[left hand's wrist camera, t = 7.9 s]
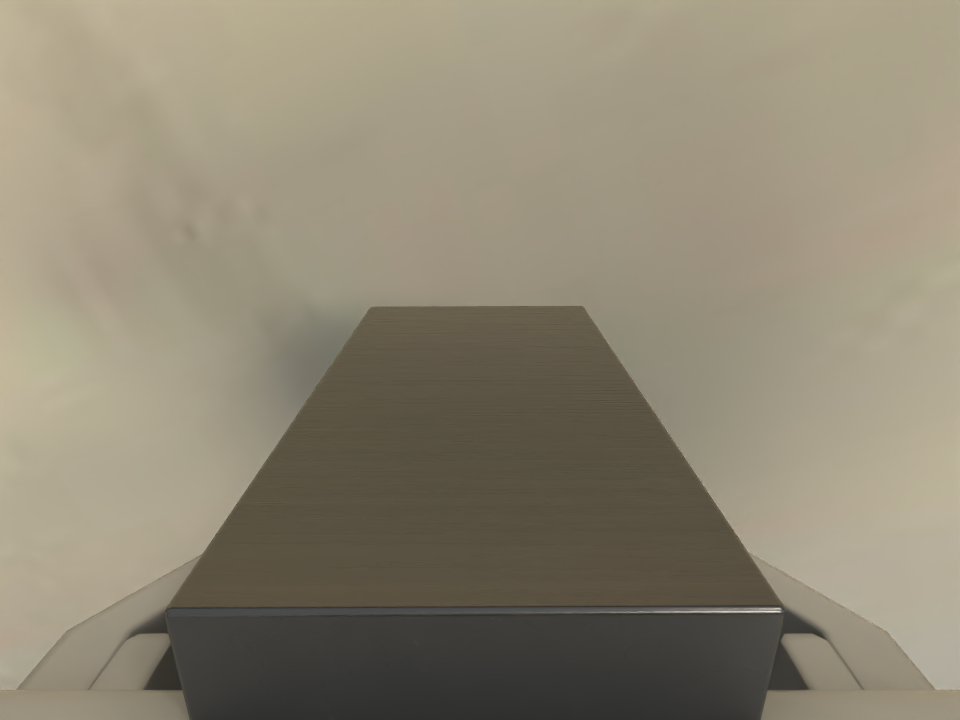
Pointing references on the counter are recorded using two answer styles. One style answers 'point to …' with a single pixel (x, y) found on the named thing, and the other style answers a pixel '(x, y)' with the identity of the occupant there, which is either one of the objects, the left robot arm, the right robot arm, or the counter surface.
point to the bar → (475, 545)
